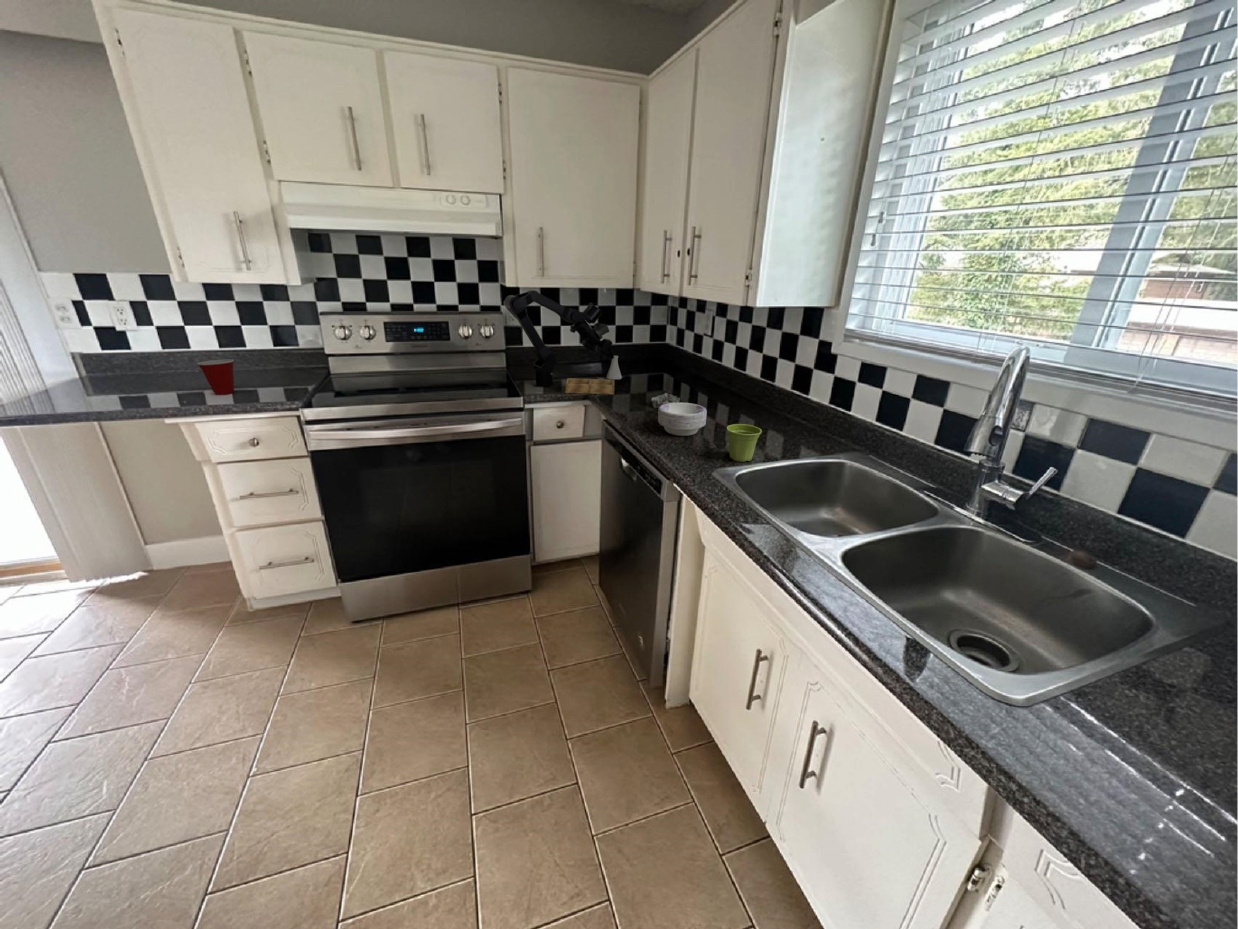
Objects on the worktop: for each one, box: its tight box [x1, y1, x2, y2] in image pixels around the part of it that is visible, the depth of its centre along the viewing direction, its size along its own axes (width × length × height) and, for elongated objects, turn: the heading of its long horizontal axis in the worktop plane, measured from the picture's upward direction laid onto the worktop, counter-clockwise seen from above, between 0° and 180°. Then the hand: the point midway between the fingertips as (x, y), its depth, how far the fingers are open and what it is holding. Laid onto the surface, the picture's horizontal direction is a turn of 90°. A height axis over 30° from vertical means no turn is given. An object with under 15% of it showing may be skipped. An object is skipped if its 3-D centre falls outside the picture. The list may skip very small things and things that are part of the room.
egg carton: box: [651, 392, 681, 409], centre depth 188 cm, size 11×8×4 cm
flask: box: [606, 355, 623, 380], centre depth 227 cm, size 7×7×10 cm
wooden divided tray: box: [564, 377, 615, 395], centre depth 206 cm, size 20×10×4 cm, turn 91°
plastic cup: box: [196, 358, 235, 396], centre depth 182 cm, size 11×11×12 cm
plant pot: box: [726, 423, 763, 463], centre depth 139 cm, size 9×9×9 cm
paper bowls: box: [657, 402, 708, 437], centre depth 159 cm, size 15×15×8 cm
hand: (608, 356), depth 223 cm, fingers open, 9 cm apart
